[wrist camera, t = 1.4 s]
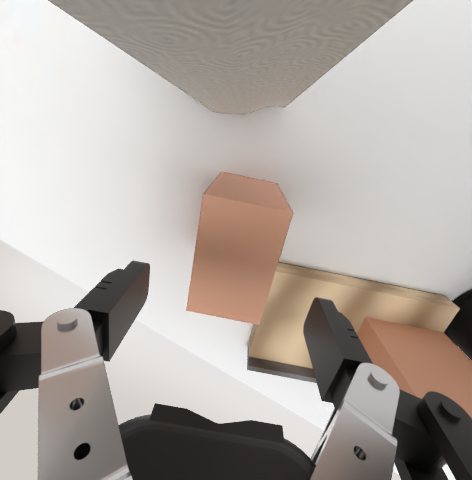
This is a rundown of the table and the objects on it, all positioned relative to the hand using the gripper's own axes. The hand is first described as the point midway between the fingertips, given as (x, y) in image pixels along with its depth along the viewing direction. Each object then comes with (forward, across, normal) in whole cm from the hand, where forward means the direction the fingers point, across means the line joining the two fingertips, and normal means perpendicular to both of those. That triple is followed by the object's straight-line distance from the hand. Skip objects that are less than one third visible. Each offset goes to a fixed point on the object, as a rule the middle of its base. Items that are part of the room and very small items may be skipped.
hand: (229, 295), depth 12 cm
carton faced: (+10, -18, +9) cm, 23 cm away
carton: (+12, 0, 0) cm, 12 cm away
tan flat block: (+12, -13, +9) cm, 20 cm away
